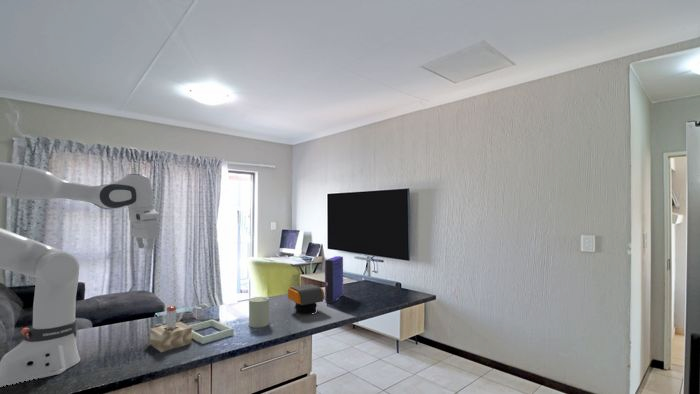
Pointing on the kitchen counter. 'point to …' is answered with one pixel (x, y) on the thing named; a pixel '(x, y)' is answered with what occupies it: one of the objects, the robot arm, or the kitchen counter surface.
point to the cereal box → (333, 278)
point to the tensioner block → (170, 337)
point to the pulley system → (188, 318)
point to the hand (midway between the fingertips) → (145, 249)
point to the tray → (208, 338)
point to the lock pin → (171, 318)
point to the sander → (306, 298)
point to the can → (258, 312)
